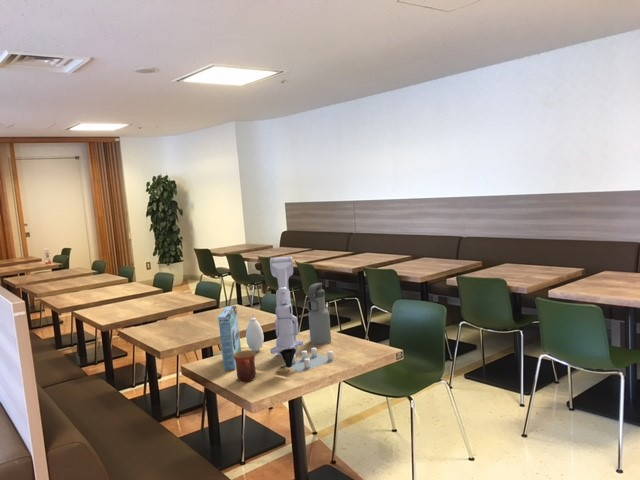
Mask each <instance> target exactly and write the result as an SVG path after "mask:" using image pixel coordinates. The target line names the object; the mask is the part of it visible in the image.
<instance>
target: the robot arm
mask: <svg viewBox="0 0 640 480" xmlns="http://www.w3.org/2000/svg"><path fill="white" fill-rule="evenodd" d="M269 267H270V268H269V269H270V273H271V275H272V277H274V278H276V279H277V286H278V289H277V290H276V292H275V296H276V297H275V298H276V299H275V300H276V307H275V317H276V319H275V335H276V342H275V343H276V344H275V345H276V346H274V347H272V348H269V349H270V350H269V351H270V354H272V355H275V357H277V356H280V357H282V358H283V361H284V364H286V365H287V366H288V369H291V368H290V367H292V361H293V357H294V354H295V357H297V356H298V347H303V346H304V341H303V340H301V339H298V340H297V336H299V333H300V332H299V322H298V318H297V316H295V315H293V314H294V313H293V307H292V302H291V291H290V289H289V287H290V286H289V278H290V277H291V276H293V274H294V260H293V257H292V255H291V256H282V257H270V258H269Z"/></svg>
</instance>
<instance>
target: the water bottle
mask: <svg viewBox="0 0 640 480" xmlns="http://www.w3.org/2000/svg"><path fill="white" fill-rule="evenodd" d="M322 286H323V282H316V283H313V284H311V285H309V287H308V289H307V297H308V299H307V301H306V310H307V312H308V314H307V315H308V324H309V325H308V326H309V327H308V329H309V338H310V339H309V341H310V343H311V344H313V345H324V344H325V345H326V344H327V345H328V344H330V343H331V342H332V335H331V319H330V311H329V310H328V309H327V308H326V300H325V297H326V296H325V295H326V293H325V290H324V289H323V287H322ZM309 303H310V304H309ZM309 305H310V306H309ZM310 308H311V309H310Z"/></svg>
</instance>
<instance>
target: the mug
mask: <svg viewBox="0 0 640 480" xmlns="http://www.w3.org/2000/svg"><path fill="white" fill-rule="evenodd" d="M256 352H257V351H252V350H251V349H249V350H241V351H240V352H237V353H235V354H234V355H233V357H234V359H235V362H236V368H235V370H236V377H237V380H238V381H239V382H242V383H247V382H251V381H253V380H254V379H256V375H257V372H256V370H257V369H256V365H255V364H256V363H255V360H256Z"/></svg>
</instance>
